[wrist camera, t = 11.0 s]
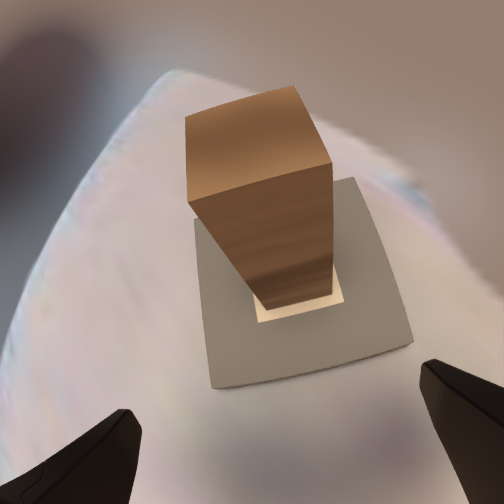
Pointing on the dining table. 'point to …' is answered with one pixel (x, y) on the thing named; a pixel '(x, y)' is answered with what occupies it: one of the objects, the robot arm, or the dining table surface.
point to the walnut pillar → (265, 193)
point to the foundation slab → (303, 307)
